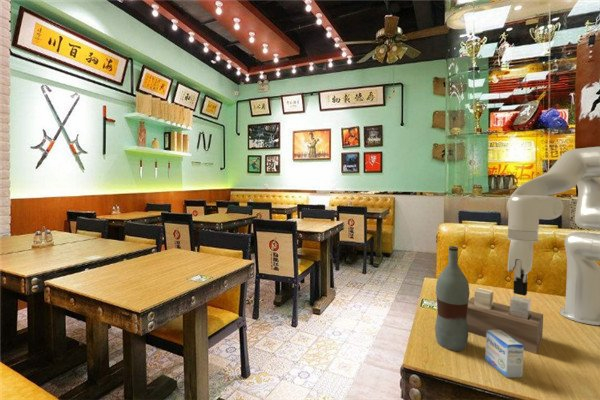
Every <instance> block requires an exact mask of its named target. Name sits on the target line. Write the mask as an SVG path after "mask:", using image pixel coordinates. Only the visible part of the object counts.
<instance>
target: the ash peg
mask: <svg viewBox="0 0 600 400" xmlns="http://www.w3.org/2000/svg"><path fill="white" fill-rule="evenodd" d="M474 297H475V298H474V306H477V307H481V308H485V309H488V310H491V308H492V307H493V302H494V291H493V290H490V289H485V288H481V287H478V288H476V289H475V290H474Z"/></svg>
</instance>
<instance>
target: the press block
mask: <svg viewBox="0 0 600 400" xmlns="http://www.w3.org/2000/svg"><path fill="white" fill-rule="evenodd" d="M474 298H475V296H472V297H471V298H469V300H468V309H467V325H468V333H470V334H474V335H476V336H477V335H478V336H480V337H483V338H486V333H487V330H501V331H503V332H504V333H506V334H507V335H509V336H510V337H512V338H513V339H515V340H516V341H518V342H520V343H521V344H523V345H524V351H527V352H530V353H533V354H537V353H538V350H539V348H540V345H541V343H542V340H543V337H544V336H543V332H544V313H540V312H536V311H532V310H530V318H529V320H527V319H523V318H519V317H515V316H511V315H510V305H507V304H503V303H499V302H495V301H493V307H492V308H491V310H488V309H485V308H481V307H477V306H474Z"/></svg>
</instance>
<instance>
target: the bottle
mask: <svg viewBox="0 0 600 400" xmlns="http://www.w3.org/2000/svg"><path fill="white" fill-rule="evenodd" d="M447 262H448V264H447V265H446V266H445V268H444V269H443V270H442V271H441V273H440V274H439V275H438V277H437V280H436V285H435V292H436V293H435V294H436V309H437V310H436V311H437V312H436V313H437V315H436V319H435V324H434V325H435V327H434V331H435V338H436V342H437V344H438V345H440V346H441V347H442V348H444V349H447V350H450V351H453V352H454V351H455V352H462V351H464V350H466V349H467V346H468V340H469V332H468V325H467V309H468V300H470V285H469V281H468V279H467V277H466V275H465V274H464V273H463V271H462V270H461V268H460V266H459V263H458V262H459V247H458V246H452V245H451V246H448V261H447Z"/></svg>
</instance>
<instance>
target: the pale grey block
mask: <svg viewBox="0 0 600 400" xmlns="http://www.w3.org/2000/svg"><path fill="white" fill-rule="evenodd" d="M531 300H532V299H531V298H530V299H529V298H527V297H523V296H516V295H513V296H512V297H511V298H510V302H509V306H510V315H511V316H515V317H519V318H523V319H527V320H529V318H530V311H531Z"/></svg>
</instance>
